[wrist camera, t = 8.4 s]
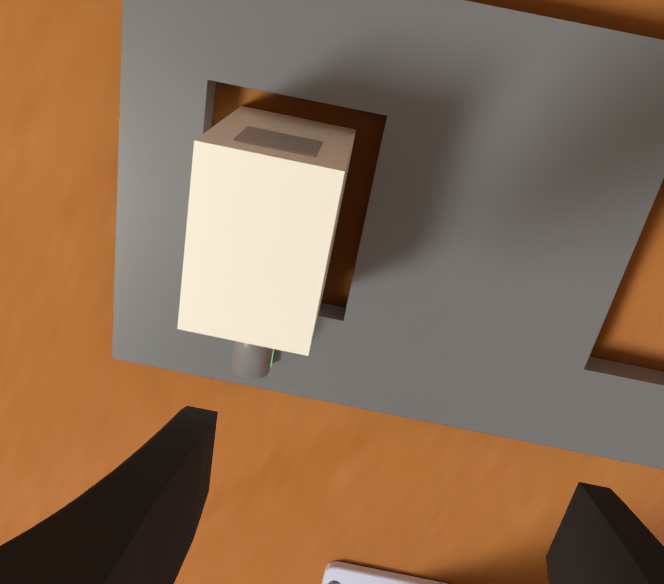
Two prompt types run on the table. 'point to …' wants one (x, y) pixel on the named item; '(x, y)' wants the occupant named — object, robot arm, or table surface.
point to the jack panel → (420, 206)
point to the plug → (261, 232)
